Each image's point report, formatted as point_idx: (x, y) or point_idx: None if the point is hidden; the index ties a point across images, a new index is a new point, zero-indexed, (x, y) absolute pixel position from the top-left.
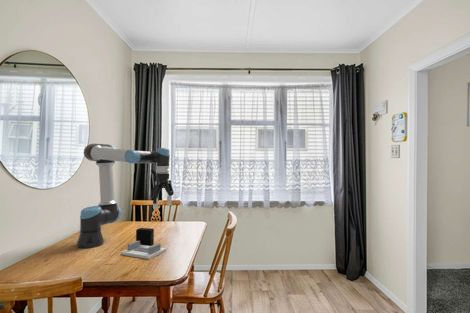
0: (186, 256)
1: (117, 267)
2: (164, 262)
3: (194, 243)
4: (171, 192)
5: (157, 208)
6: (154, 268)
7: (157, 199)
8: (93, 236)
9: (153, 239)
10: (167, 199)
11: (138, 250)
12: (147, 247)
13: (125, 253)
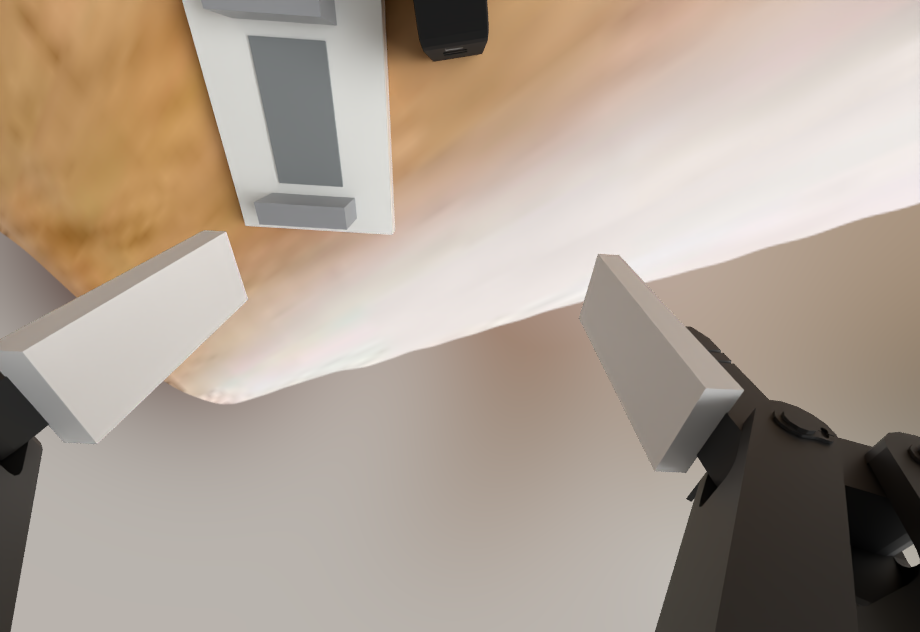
0: (374, 346)
1: (69, 136)
2: (270, 304)
3: (561, 301)
4: (856, 530)
5: (237, 303)
6: None
7: (109, 416)
8: None
9: (479, 51)
10: (643, 323)
11: (266, 89)
12: (352, 103)
13: (189, 13)
